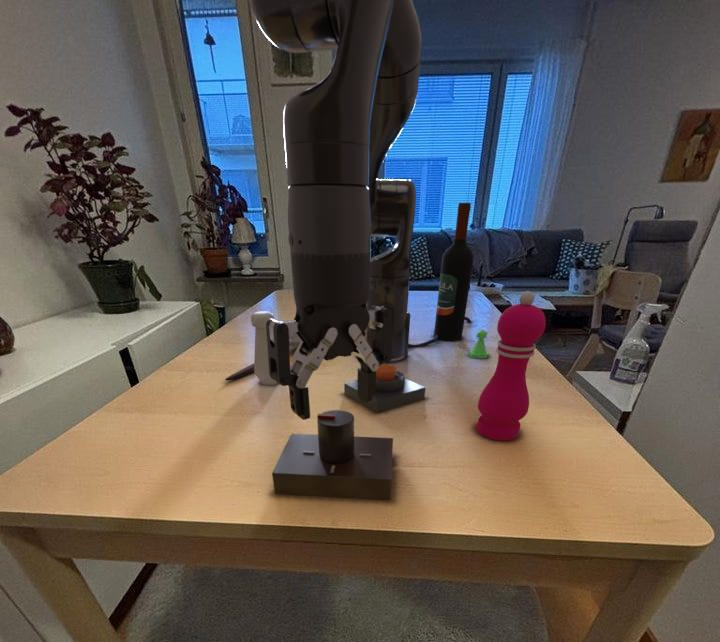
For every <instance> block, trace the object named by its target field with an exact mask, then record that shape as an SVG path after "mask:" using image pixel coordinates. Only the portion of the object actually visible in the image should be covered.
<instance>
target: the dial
mask: <svg viewBox="0 0 720 642" xmlns="http://www.w3.org/2000/svg"><path fill="white" fill-rule="evenodd" d="M316 416H317V417H316V423H317V435H318V441H319V455H320V457H321V458H322V459H323V460H325V461H327V462H332V463H340V462H345V461H348V460H350V459H351V458H352V457H353V456H354V436H355V416H354V414H352V413H351V412H349V411H346V410H342V409H341V410H339V409H333V410H332V409H331V410H327V411H323V412H321V413H317V415H316Z"/></svg>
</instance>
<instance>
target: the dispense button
mask: <svg viewBox="0 0 720 642" xmlns="http://www.w3.org/2000/svg"><path fill="white" fill-rule="evenodd" d="M396 371H397V367H396V366H394V365H390V364H382V365H380V366H379V368H378V370H377V371H376V379H378V380H393V379H396Z"/></svg>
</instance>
